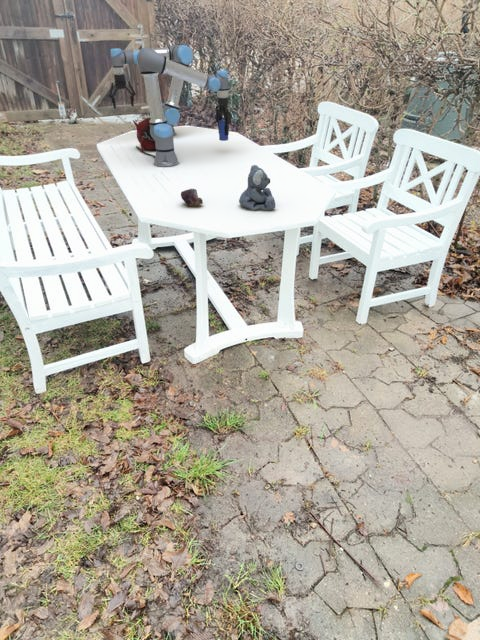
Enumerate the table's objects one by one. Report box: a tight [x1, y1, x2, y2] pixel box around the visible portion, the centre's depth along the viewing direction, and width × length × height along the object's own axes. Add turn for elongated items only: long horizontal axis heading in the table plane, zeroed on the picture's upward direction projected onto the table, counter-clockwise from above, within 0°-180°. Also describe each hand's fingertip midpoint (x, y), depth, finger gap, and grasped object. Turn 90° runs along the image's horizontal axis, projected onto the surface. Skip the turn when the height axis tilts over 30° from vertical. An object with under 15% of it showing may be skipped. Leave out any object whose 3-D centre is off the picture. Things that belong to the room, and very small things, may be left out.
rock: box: [180, 188, 204, 207], centre depth 229 cm, size 12×9×10 cm
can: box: [218, 119, 229, 142], centre depth 308 cm, size 6×6×12 cm
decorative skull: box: [132, 117, 156, 153], centre depth 323 cm, size 21×24×25 cm
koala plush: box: [238, 164, 276, 211], centre depth 224 cm, size 17×18×20 cm
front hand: (223, 134), depth 309 cm, fingers closed on can, 6 cm apart
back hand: (123, 107), depth 328 cm, fingers open, 13 cm apart
